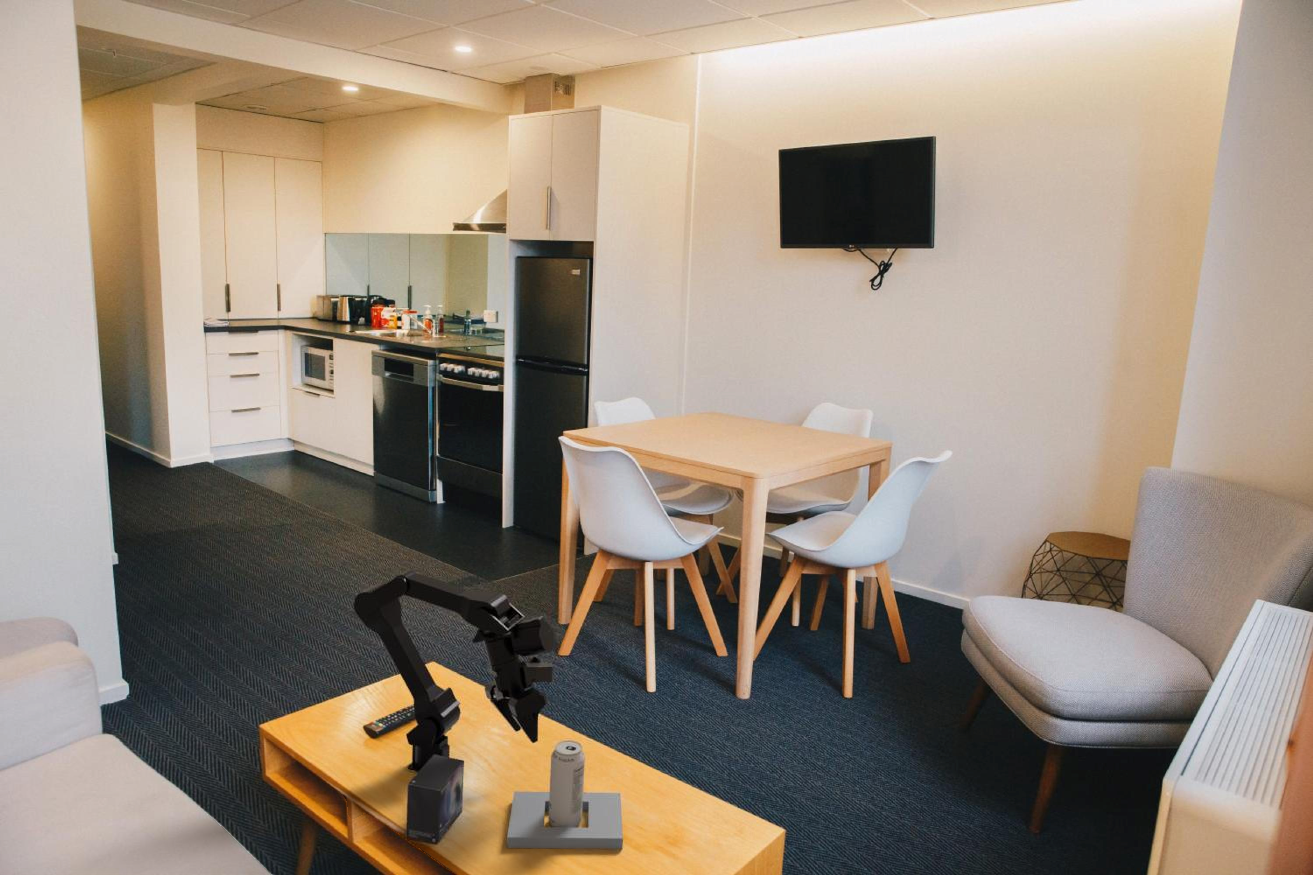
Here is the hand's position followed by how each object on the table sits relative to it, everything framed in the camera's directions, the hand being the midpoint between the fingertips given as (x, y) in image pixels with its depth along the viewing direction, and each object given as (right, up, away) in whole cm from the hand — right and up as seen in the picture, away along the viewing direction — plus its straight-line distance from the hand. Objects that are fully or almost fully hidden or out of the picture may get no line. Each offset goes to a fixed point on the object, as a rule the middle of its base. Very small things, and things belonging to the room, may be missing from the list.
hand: (526, 736), depth 168 cm
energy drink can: (+8, -13, -9) cm, 18 cm away
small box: (-15, -12, -12) cm, 22 cm away
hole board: (+9, -13, -9) cm, 18 cm away
